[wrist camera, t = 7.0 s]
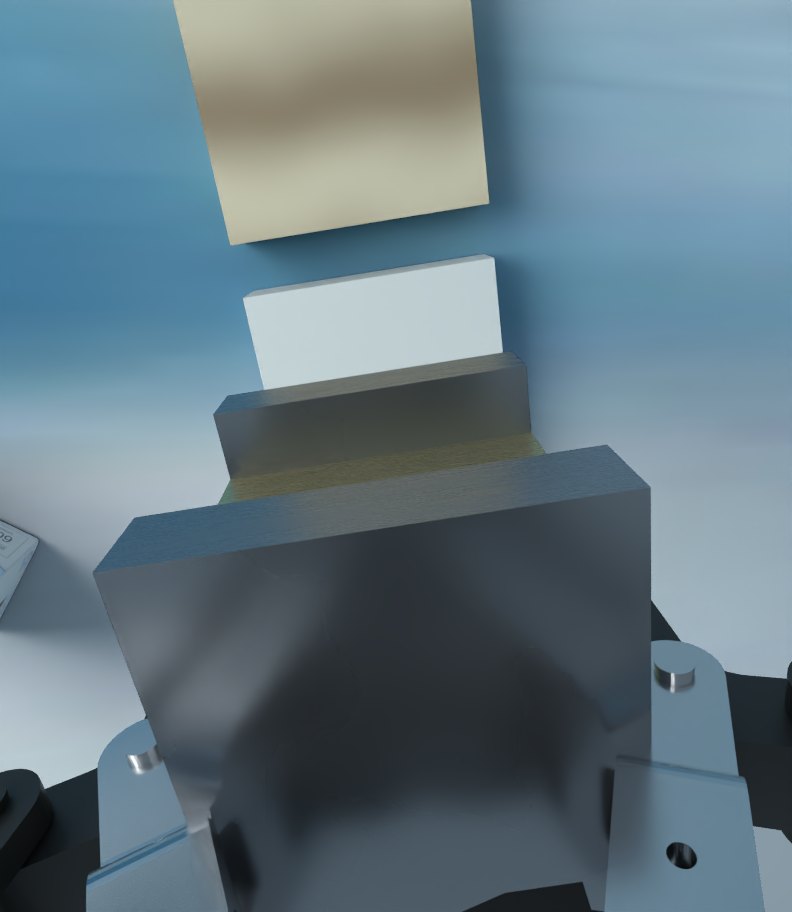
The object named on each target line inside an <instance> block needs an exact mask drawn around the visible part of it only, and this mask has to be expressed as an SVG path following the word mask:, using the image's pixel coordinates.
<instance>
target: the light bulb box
mask: <svg viewBox="0 0 792 912" xmlns="http://www.w3.org/2000/svg"><path fill="white" fill-rule="evenodd" d="M38 542H39V540H38V539H37V538H35V537H33V536H31V535H29V534H27V533H25V532H23V531H21V530H19V529H17V528H15V527H13V526H11V525H8V524H6V523H4V522H2V521H0V618H1V616H2V614H3V612H4V610H5V608H6V606H7V604H8V603H9V601H10V599H11V597H12V595H13V593H14V591H15V589H16V587H17V585H18V583H19V581H20V579H21V577H22V575H23V573H24V571H25V569H26V567H27V565H28V563H29V561H30V559H31V557H32V555H33V553H34V551H35V549H36V547H37V545H38Z"/></svg>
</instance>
